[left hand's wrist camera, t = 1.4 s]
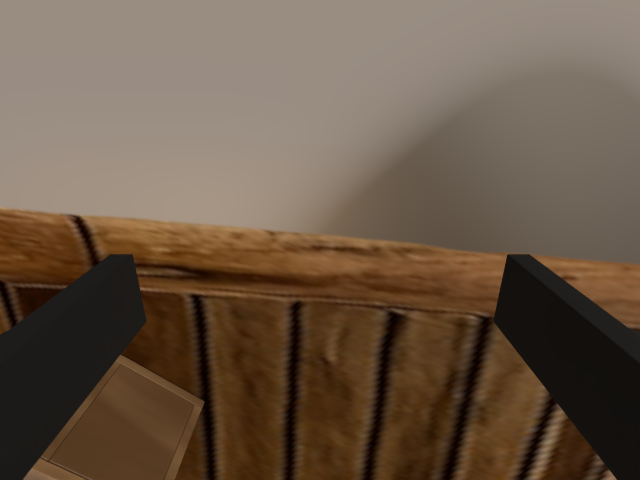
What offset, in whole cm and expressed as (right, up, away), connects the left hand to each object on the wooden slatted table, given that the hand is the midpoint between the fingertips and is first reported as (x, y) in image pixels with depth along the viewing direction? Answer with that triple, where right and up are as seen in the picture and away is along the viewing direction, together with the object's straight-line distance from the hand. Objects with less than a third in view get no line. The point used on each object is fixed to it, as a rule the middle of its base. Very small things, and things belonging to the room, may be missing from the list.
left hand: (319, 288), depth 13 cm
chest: (-20, -18, +24) cm, 36 cm away
